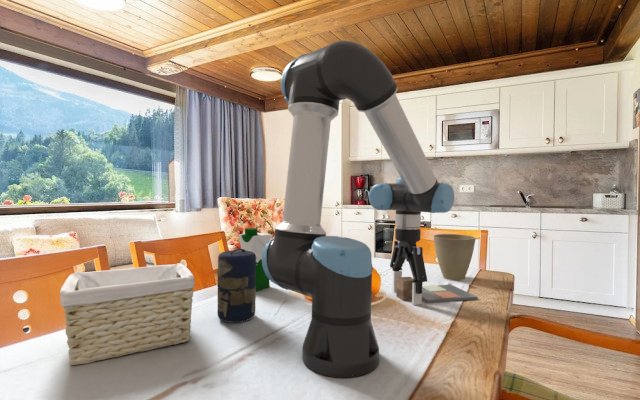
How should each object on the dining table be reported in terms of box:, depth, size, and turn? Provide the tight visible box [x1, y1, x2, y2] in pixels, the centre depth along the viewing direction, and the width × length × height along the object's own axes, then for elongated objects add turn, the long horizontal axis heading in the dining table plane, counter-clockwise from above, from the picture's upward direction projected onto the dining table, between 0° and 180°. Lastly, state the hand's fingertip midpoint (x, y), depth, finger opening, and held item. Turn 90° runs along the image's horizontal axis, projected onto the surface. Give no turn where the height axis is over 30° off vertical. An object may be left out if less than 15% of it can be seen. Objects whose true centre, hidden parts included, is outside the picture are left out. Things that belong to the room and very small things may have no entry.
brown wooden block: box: [395, 276, 414, 302], centre depth 109 cm, size 4×4×6 cm
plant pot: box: [433, 233, 476, 281], centre depth 134 cm, size 15×15×16 cm
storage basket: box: [59, 262, 196, 366], centre depth 76 cm, size 24×16×15 cm
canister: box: [217, 247, 257, 323], centre depth 90 cm, size 10×10×18 cm
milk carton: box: [238, 227, 272, 292], centre depth 118 cm, size 9×9×20 cm
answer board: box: [422, 284, 478, 304], centre depth 113 cm, size 17×14×1 cm
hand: (406, 297), depth 109 cm, fingers open, 12 cm apart
